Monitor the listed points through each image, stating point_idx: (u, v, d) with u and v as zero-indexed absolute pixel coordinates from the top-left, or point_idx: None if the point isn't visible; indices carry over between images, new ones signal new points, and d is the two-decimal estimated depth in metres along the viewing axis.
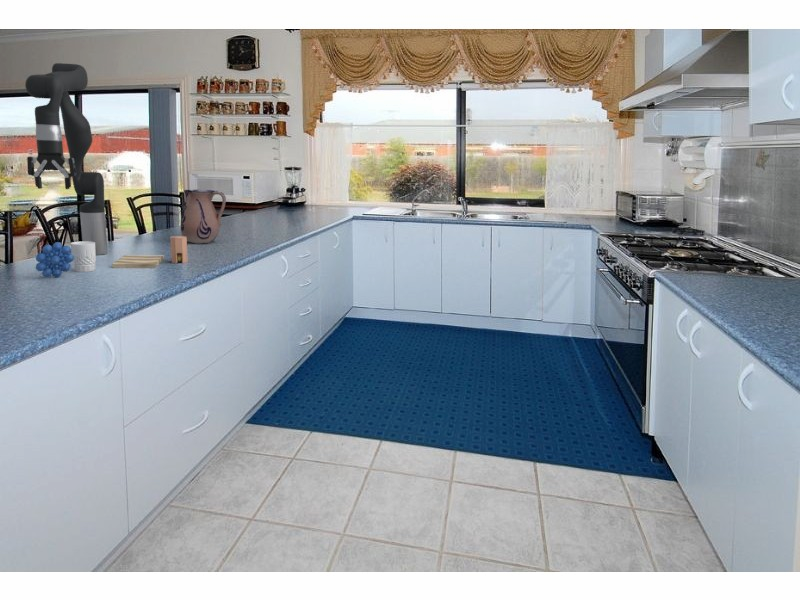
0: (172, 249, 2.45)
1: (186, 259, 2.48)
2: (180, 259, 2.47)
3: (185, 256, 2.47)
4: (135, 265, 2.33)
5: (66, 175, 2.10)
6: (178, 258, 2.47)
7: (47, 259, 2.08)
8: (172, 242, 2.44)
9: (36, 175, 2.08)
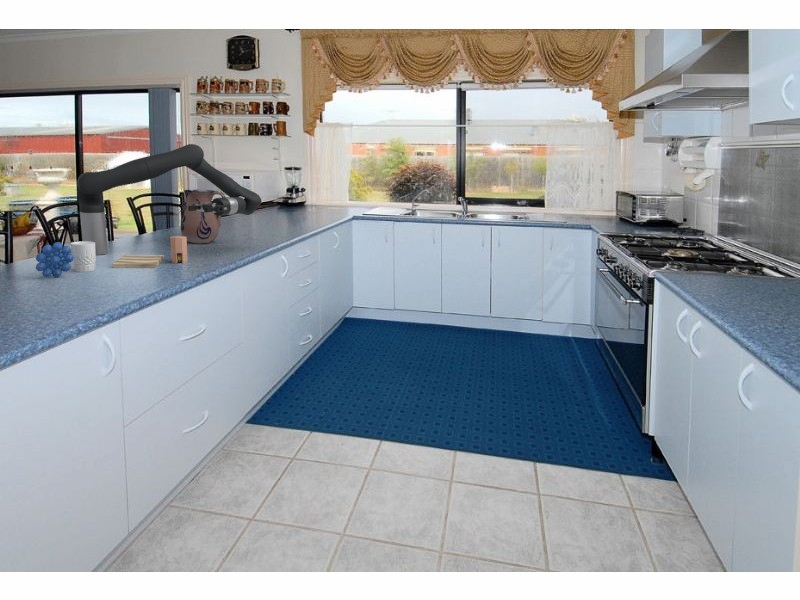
0: (172, 249, 2.45)
1: (186, 259, 2.48)
2: (180, 259, 2.47)
3: (185, 256, 2.47)
4: (135, 265, 2.33)
5: None
6: (178, 258, 2.47)
7: (47, 259, 2.08)
8: (172, 242, 2.44)
9: (213, 212, 2.55)
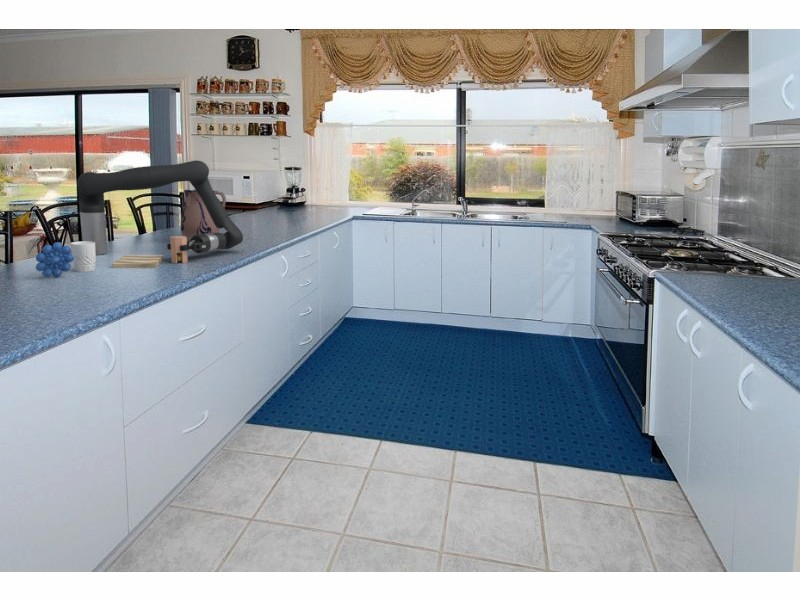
0: (172, 249, 2.45)
1: (186, 259, 2.47)
2: (180, 259, 2.47)
3: (185, 256, 2.47)
4: (135, 265, 2.33)
5: None
6: (178, 258, 2.47)
7: (47, 259, 2.08)
8: (172, 242, 2.44)
9: None
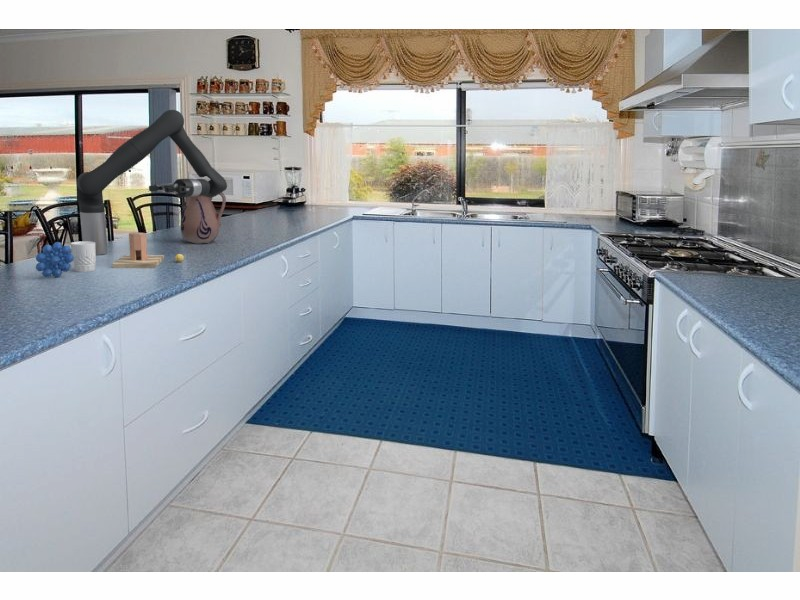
0: (131, 246, 2.39)
1: (145, 256, 2.42)
2: (180, 259, 2.47)
3: (144, 253, 2.41)
4: (135, 265, 2.33)
5: None
6: (178, 258, 2.47)
7: (47, 259, 2.08)
8: (130, 239, 2.38)
9: (174, 192, 2.48)
